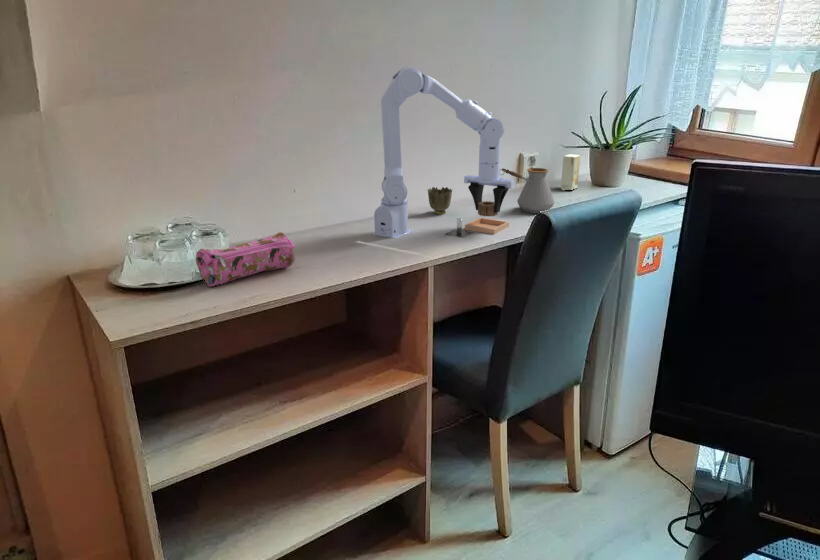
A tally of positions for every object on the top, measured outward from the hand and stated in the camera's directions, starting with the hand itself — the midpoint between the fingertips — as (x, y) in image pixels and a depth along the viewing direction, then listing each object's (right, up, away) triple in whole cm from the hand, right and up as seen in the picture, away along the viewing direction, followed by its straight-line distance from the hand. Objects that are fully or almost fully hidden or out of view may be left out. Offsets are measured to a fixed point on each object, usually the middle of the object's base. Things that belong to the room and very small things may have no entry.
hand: (487, 210), depth 174 cm
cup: (-13, +1, +18) cm, 22 cm away
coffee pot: (+14, +1, +19) cm, 24 cm away
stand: (-8, -7, -3) cm, 11 cm away
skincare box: (+36, +13, +49) cm, 62 cm away
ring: (0, -1, 0) cm, 1 cm away
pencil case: (-59, -19, -32) cm, 69 cm away
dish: (0, -5, +2) cm, 5 cm away
